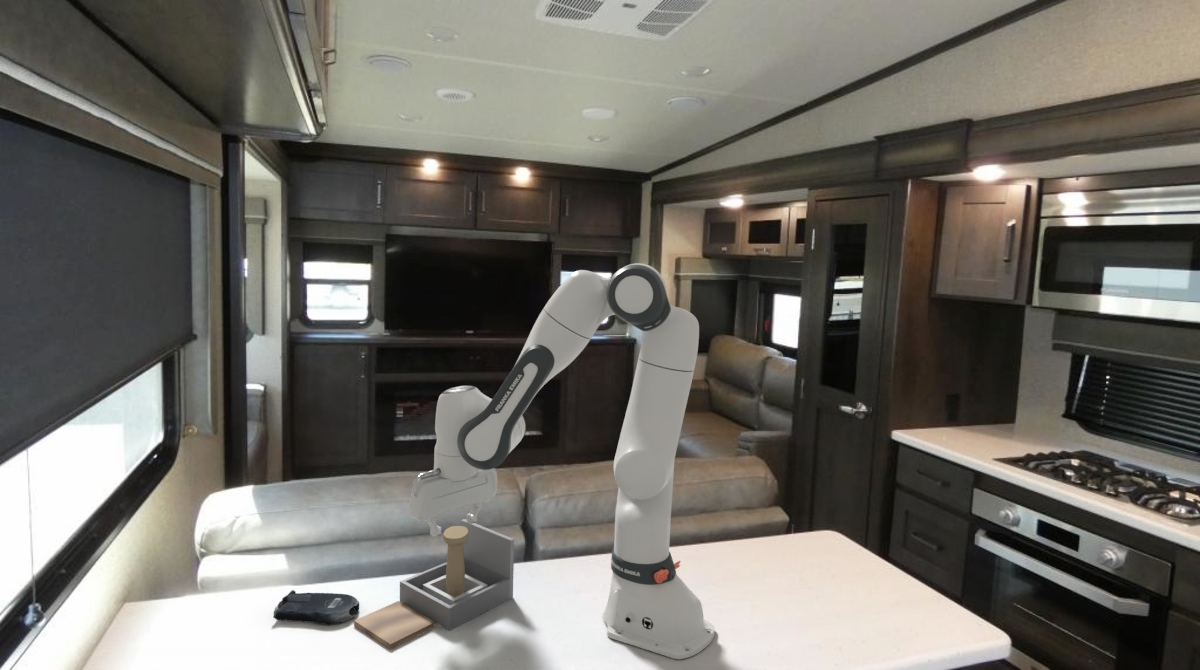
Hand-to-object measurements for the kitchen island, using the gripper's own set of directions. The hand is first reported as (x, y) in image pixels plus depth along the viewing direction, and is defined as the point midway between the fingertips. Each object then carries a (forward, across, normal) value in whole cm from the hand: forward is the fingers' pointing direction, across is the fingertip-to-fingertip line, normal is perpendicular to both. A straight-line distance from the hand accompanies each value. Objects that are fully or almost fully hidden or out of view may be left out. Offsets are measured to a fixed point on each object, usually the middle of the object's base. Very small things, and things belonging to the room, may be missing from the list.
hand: (454, 528), depth 137 cm
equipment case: (+16, 0, -1) cm, 16 cm away
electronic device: (+17, -21, +15) cm, 31 cm away
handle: (+16, 0, -1) cm, 16 cm away
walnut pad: (+16, -14, 0) cm, 21 cm away
